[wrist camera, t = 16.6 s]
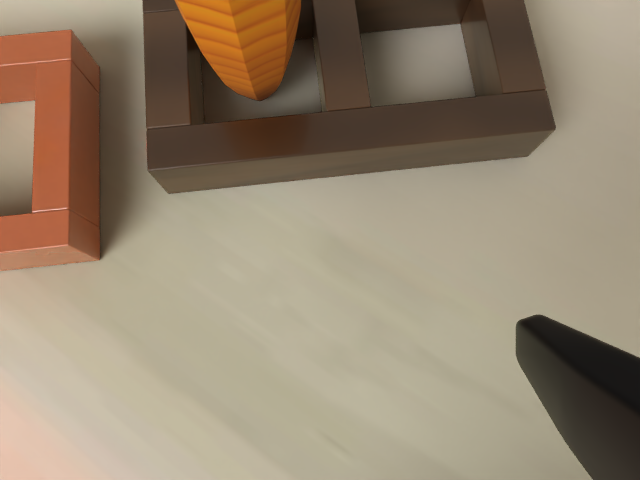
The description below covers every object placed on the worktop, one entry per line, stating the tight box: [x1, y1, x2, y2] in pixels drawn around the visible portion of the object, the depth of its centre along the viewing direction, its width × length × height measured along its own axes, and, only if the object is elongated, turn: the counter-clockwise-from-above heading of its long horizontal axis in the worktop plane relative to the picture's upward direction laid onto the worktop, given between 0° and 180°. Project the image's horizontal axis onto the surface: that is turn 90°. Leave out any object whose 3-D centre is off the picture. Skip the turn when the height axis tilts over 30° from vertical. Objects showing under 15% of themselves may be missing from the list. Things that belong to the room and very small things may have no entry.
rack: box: [143, 0, 556, 194], centre depth 24 cm, size 10×18×3 cm, turn 96°
